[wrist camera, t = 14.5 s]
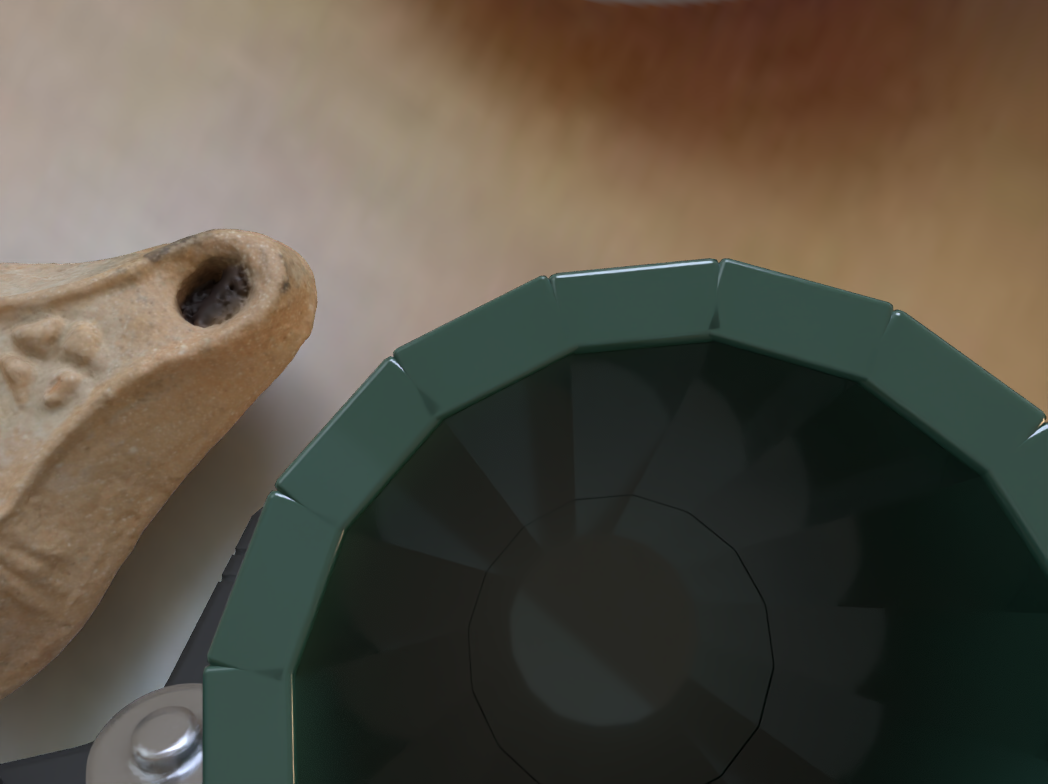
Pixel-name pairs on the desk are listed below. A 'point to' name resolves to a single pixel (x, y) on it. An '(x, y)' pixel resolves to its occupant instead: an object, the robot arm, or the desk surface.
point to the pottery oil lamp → (122, 408)
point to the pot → (650, 553)
